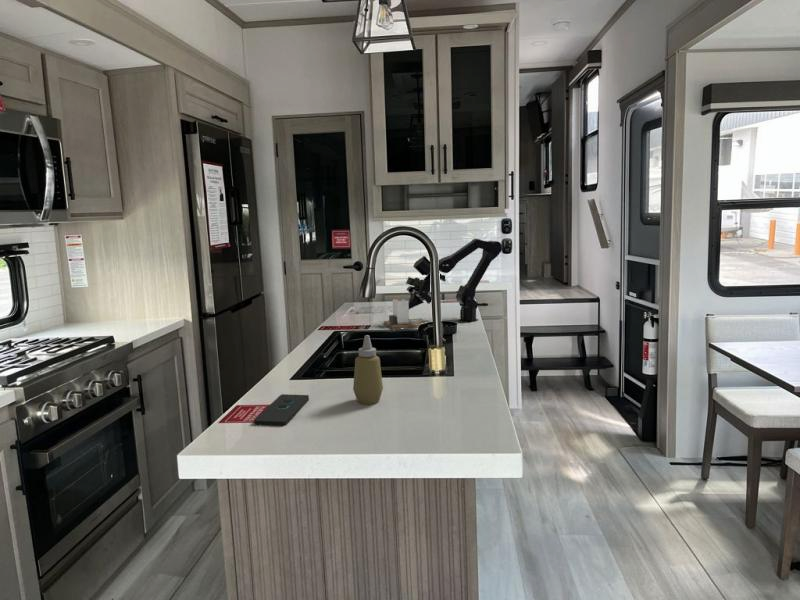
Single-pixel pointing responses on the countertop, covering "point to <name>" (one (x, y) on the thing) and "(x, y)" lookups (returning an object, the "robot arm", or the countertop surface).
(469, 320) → the robot arm
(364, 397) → the squeeze bottle
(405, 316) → the block
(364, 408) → the countertop surface
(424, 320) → the rail board
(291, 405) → the smart home device
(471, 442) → the countertop surface
